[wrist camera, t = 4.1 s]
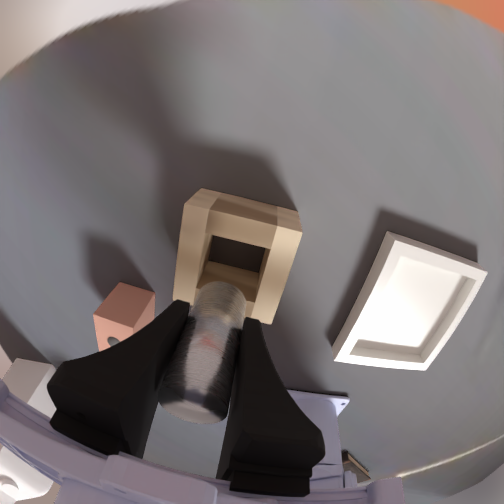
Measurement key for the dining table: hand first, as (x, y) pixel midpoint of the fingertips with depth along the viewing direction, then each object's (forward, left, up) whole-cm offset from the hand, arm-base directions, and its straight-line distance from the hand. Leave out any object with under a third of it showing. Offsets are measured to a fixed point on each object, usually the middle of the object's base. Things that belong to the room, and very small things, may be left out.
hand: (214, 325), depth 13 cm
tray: (-2, -16, -9) cm, 19 cm away
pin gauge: (0, 0, -2) cm, 2 cm away
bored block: (0, 0, -9) cm, 9 cm away
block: (-9, +8, -10) cm, 15 cm away
